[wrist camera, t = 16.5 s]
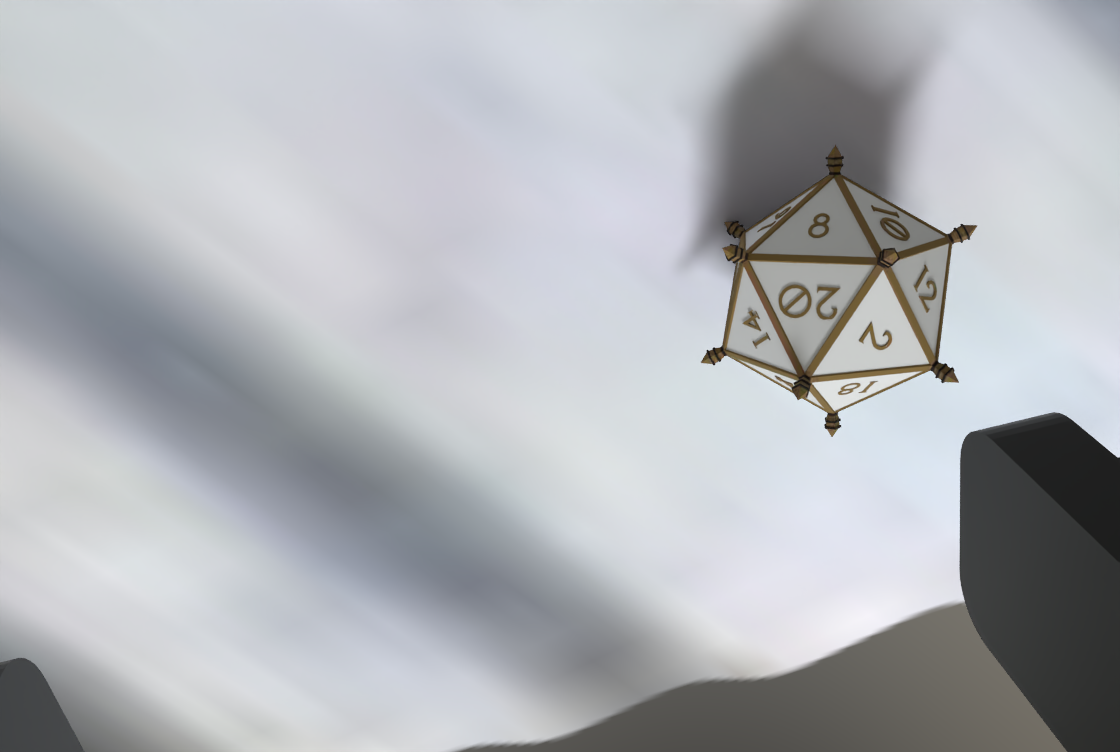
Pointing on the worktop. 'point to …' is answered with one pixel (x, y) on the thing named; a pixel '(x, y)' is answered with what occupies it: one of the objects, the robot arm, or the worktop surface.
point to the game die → (838, 295)
